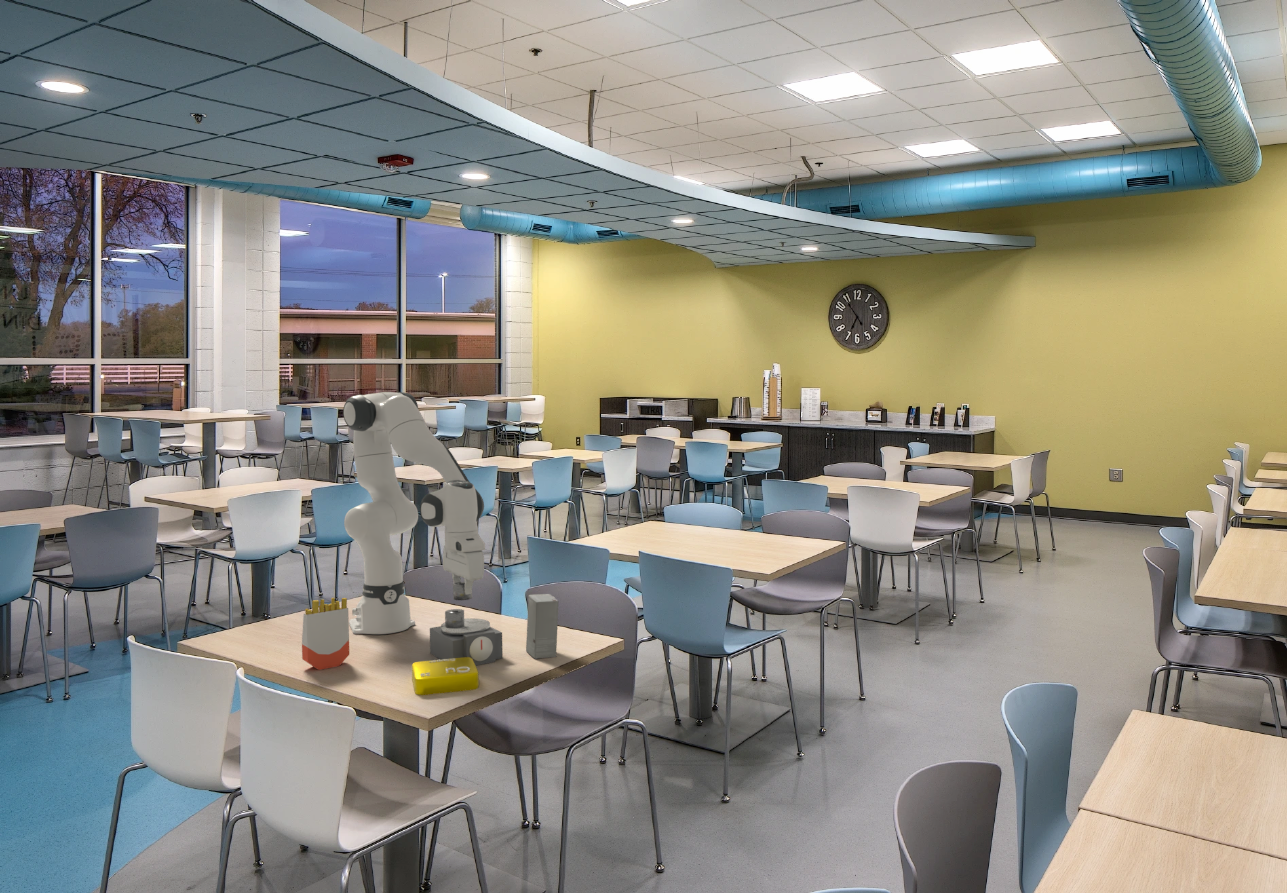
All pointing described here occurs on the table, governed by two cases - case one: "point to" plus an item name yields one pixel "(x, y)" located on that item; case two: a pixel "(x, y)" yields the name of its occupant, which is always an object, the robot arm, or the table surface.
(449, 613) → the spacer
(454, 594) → the spacer
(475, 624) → the scale pan
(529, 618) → the skincare box
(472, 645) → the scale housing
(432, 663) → the element tile
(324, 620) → the french fries container
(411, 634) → the table surface
